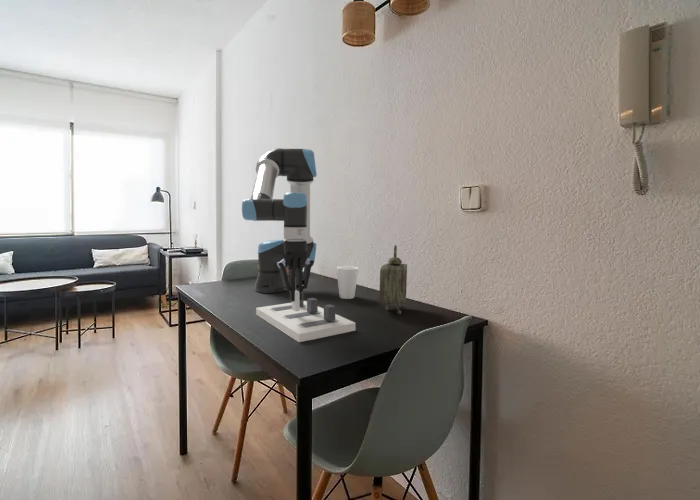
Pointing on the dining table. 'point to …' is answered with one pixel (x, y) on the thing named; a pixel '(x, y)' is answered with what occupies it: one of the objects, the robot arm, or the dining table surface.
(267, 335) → the dining table surface
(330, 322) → the breaker panel
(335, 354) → the dining table surface
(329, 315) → the handle
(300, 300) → the handle
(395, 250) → the tabletop clock
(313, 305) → the handle
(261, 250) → the robot arm
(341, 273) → the foam cup
